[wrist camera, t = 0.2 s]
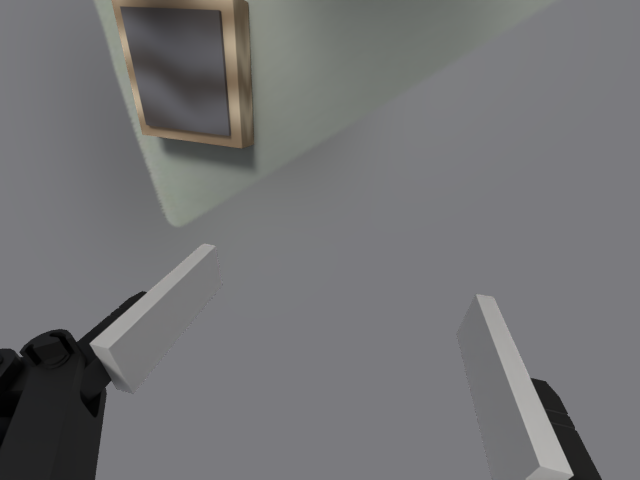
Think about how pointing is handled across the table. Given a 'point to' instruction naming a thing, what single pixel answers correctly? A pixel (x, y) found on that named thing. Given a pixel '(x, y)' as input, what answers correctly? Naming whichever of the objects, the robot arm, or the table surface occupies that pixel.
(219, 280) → the robot arm
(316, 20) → the table surface
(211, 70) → the plinth
